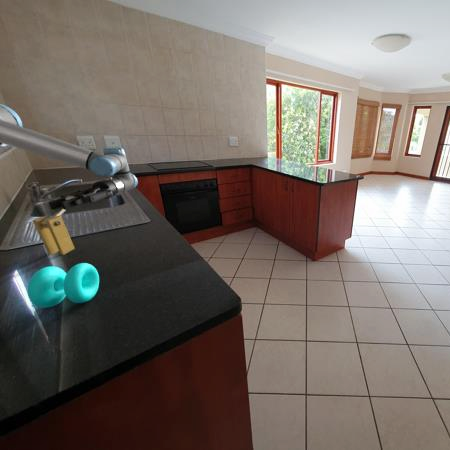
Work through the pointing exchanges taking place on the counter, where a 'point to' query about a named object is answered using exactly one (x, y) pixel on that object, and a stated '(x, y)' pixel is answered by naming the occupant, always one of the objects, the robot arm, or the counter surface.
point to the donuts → (63, 285)
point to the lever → (55, 214)
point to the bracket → (54, 235)
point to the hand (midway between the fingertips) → (57, 205)
